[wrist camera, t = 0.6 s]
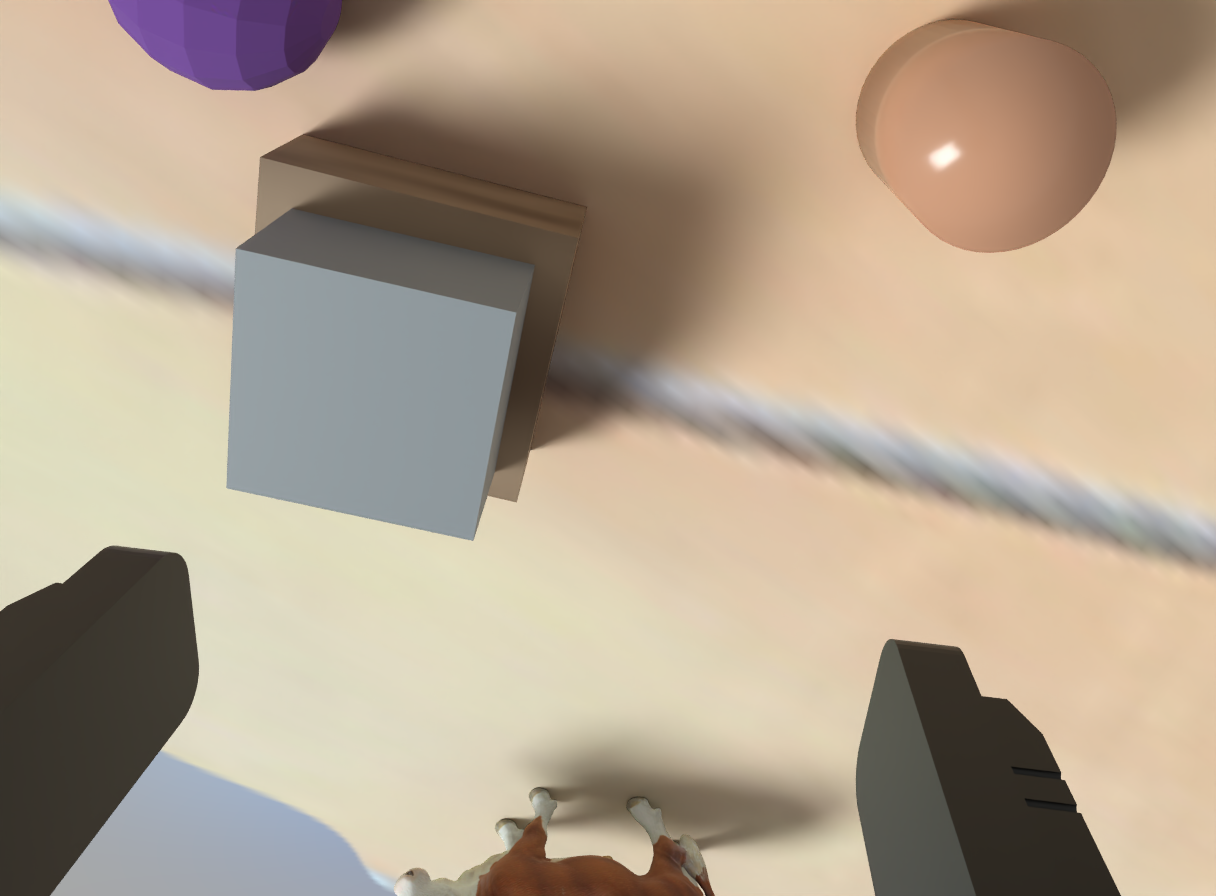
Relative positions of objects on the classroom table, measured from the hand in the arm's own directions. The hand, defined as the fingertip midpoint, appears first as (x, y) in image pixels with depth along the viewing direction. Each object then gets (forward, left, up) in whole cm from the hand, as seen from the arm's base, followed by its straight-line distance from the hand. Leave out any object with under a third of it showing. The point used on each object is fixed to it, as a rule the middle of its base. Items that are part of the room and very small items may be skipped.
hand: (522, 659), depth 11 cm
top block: (+5, -5, -18) cm, 19 cm away
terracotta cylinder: (-5, +9, -22) cm, 24 cm away
